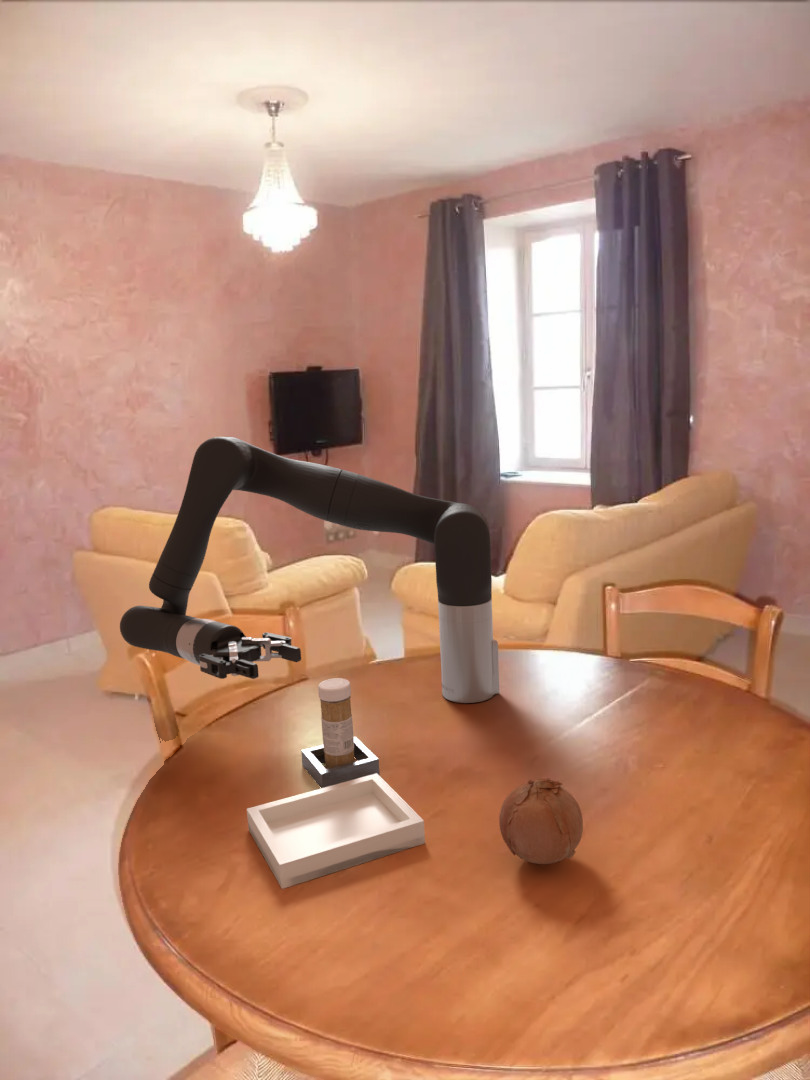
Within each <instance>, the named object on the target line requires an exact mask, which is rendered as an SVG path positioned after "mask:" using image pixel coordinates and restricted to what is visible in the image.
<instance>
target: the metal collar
mask: <svg viewBox="0 0 810 1080" xmlns="http://www.w3.org/2000/svg"><path fill="white" fill-rule="evenodd" d="M300 751H301V761H302V767H303V769H304V770H305V769H306V770H307V771H308V772H307V771H306V770H305V771H306V772H307V773H308V774H309V776H310V775H311V776H310V777H311V778H312V780H313V781H314V780H315V781H316V782H315V781H314V782H315V783H316V784H317V785H319V786H320V787H321V788H325V787H328V786H332V785H336V784H339V783H343V782H347V781H350V780H354V779H358V778H361V777H365V776H369V775H372V774H376V773H377V774H378V775H379V776H380V762H379V761H380V759H379V757H377V755H375V754H374V753H373V752H372V751H371V750H370V749H369V748H368V747H367V746H366V745H365V744H364V743H363V742H362V741H361V740H360V739H359V738H358V737H357V736H354V757H355V758H356V759H357V760H358V761H357V760H356V759H355V758H354V759H355V762H352V763H348V764H344V765H340V766H337V767H333V768H329V769H325V767H324V765H323V764H321V763H325V752H324V746H323V744H320V745H317V746H312V747H309V748H308V747H307V748H305V749H301V750H300ZM319 786H318V787H319ZM320 787H319V788H320ZM321 788H320V789H321Z"/></svg>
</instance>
